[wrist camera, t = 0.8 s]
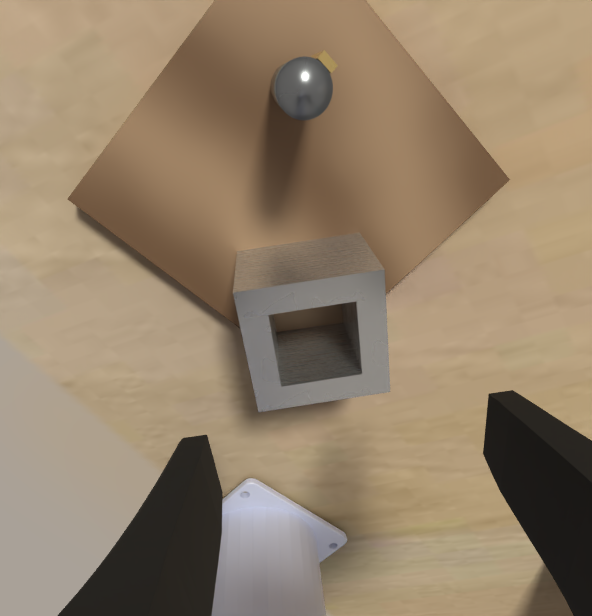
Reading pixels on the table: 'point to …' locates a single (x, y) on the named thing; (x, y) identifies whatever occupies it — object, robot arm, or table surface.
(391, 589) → the table surface
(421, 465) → the table surface
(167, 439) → the table surface
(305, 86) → the shaft stub
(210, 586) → the robot arm
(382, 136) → the copper plate
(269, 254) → the grey square sleeve
